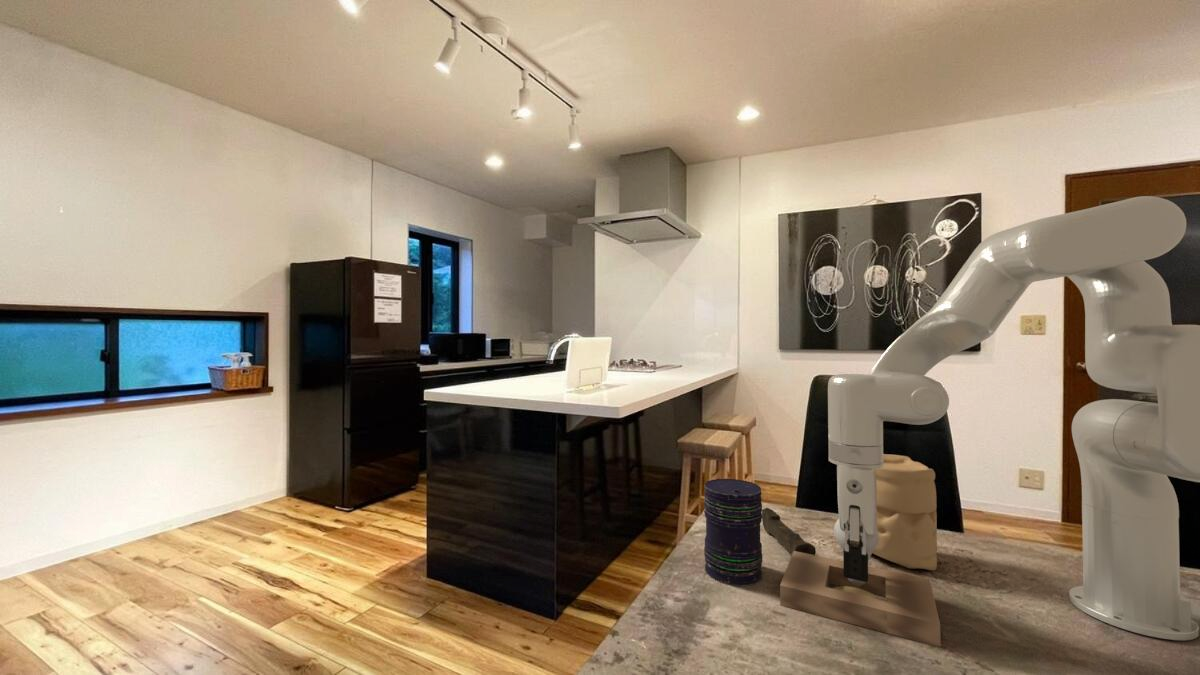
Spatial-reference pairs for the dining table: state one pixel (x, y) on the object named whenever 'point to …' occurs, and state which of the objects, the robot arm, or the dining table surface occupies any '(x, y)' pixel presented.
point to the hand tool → (784, 533)
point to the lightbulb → (870, 541)
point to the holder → (862, 597)
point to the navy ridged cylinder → (733, 531)
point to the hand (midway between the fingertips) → (856, 569)
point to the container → (906, 513)
